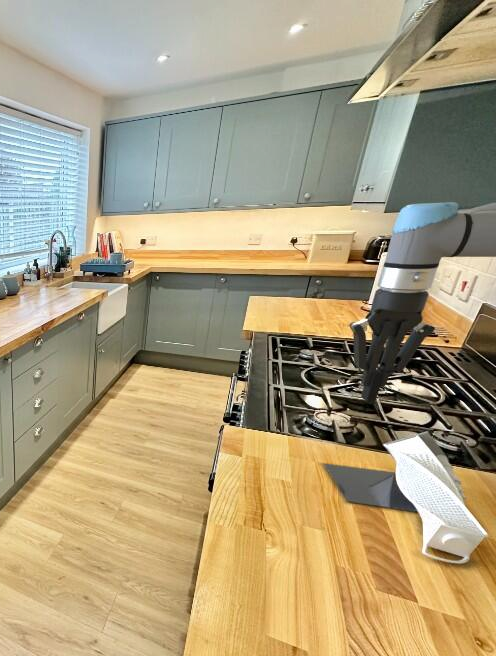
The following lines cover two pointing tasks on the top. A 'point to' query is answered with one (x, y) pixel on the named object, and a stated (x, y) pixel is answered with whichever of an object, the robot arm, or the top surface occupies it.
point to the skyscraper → (435, 496)
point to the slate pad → (369, 487)
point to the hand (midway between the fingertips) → (367, 399)
